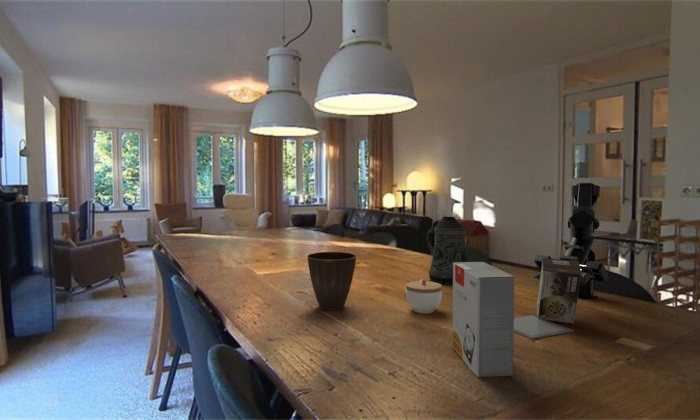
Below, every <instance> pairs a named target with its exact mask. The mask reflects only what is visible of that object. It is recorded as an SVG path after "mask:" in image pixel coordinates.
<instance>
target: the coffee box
mask: <svg viewBox="0 0 700 420" xmlns="http://www.w3.org/2000/svg"><path fill="white" fill-rule="evenodd" d="M539 276H540V278H539V286H538V295H537V302H536V313H537V314H536V315H537V316H536V317H537V318H538V319H544V320H547V321H552V322H553V321H555V322H561V323H567V324H574V322H575V317H576V310H577V303H578V299H579V297H578V292H579V286H580V280H581V270H580V265H579V261H572V260H561V259H560V258H552V259H549V258H543V260H542V268H541V272H540V275H539Z"/></svg>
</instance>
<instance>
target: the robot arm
mask: <svg viewBox="0 0 700 420" xmlns="http://www.w3.org/2000/svg"><path fill="white" fill-rule="evenodd" d="M571 190H572V194H571V197H572V199H574V204H575V206H576V208H575V209H574V210H572V211H571V217H568V219H567V220H568V221H567V228H568V229H569V230H570V235H571V238H570V241H568V242H569V243H568V244H567V243H566V244H565V245H564V249H565V251H564V253H563V254H560V255H559V257H558V259H561V260H572V261H579V265H580V270H581V280H580V286H579V292H578V299H579V298H580V299H583V300H584V299H592V298H598V295H596V294H594V286H595V285H594V283H595V282H598V283H604V284H605V283H606V282H607V281H608V277H609V274H608V272H607V269H606V266H605V264H603V262H598V261H596V254H595V252H594V250H593V249H592V247H593V244H594V242H595V237H594V236H593V234H594V233H595V231H597V230H598V229H599V228H600V221H599V219H598V218H596V217H595V215H596V212H595V210H594V209H595V208H596V206H597V205H598V199H601V198H600V195H601V186H600V185H598V184H597V185H596V184H595V183H593V182H579V183H577V184H576V185H573V186H572V188H571ZM543 258H549V259H553V258H552V257H551V255H543V254H538V255H536V257H535V258H534V260H533V262H534V263H535V265H536V268H537V269H538V270H539V273H541V268H542V260H543Z"/></svg>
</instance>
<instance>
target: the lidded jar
mask: <svg viewBox="0 0 700 420" xmlns="http://www.w3.org/2000/svg"><path fill="white" fill-rule="evenodd" d="M405 285H406V288H405V294H406V300H407V303H408V305H409V307H410V308H411V309H412V311H413V312H414V313H418V314H432V313H434V312H435V311H436V309H438V308H439V306H440V304H441V301H442V295H443V285H441V284H439V283H435V282H431V281H430V280H429V281H427V280H426V279H425V278H424V279H423V278H422V281H420V280H417V281H410V282H407V283H406V284H405Z"/></svg>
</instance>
